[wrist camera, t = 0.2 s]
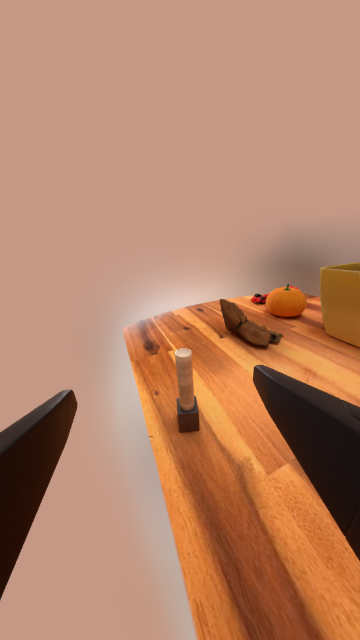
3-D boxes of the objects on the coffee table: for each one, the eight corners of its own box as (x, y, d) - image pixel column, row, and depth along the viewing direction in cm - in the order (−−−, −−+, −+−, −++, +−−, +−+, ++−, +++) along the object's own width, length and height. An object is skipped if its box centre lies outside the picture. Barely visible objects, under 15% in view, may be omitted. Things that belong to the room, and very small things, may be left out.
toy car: (248, 300, 77) (249, 289, 75) (288, 296, 79) (290, 285, 77) (255, 305, 72) (256, 292, 70) (298, 300, 73) (300, 288, 71)
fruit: (263, 307, 69) (266, 280, 65) (299, 308, 65) (304, 280, 61) (265, 319, 59) (269, 288, 55) (308, 321, 55) (315, 288, 51)
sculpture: (233, 289, 52) (285, 302, 40) (239, 318, 57) (285, 338, 45) (212, 303, 49) (260, 321, 37) (219, 332, 54) (263, 356, 42)
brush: (199, 430, 25) (196, 357, 21) (179, 432, 25) (171, 360, 21) (196, 413, 28) (193, 345, 23) (178, 415, 28) (171, 347, 23)
